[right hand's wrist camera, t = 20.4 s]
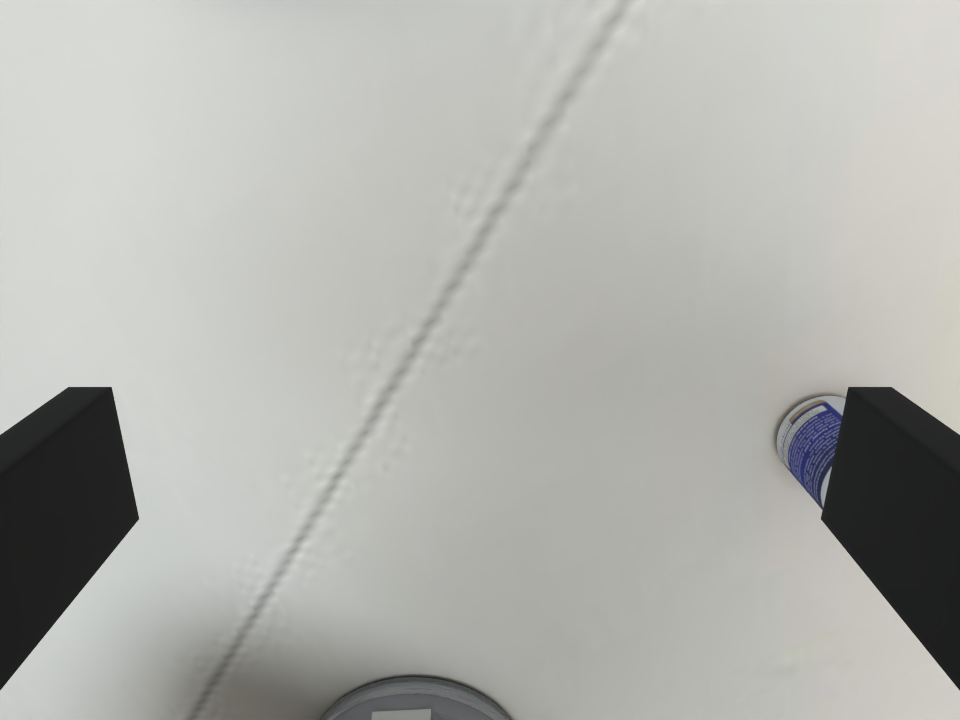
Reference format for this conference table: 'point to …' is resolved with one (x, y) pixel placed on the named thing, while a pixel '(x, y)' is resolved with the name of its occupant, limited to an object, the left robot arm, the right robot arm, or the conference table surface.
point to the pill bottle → (811, 442)
